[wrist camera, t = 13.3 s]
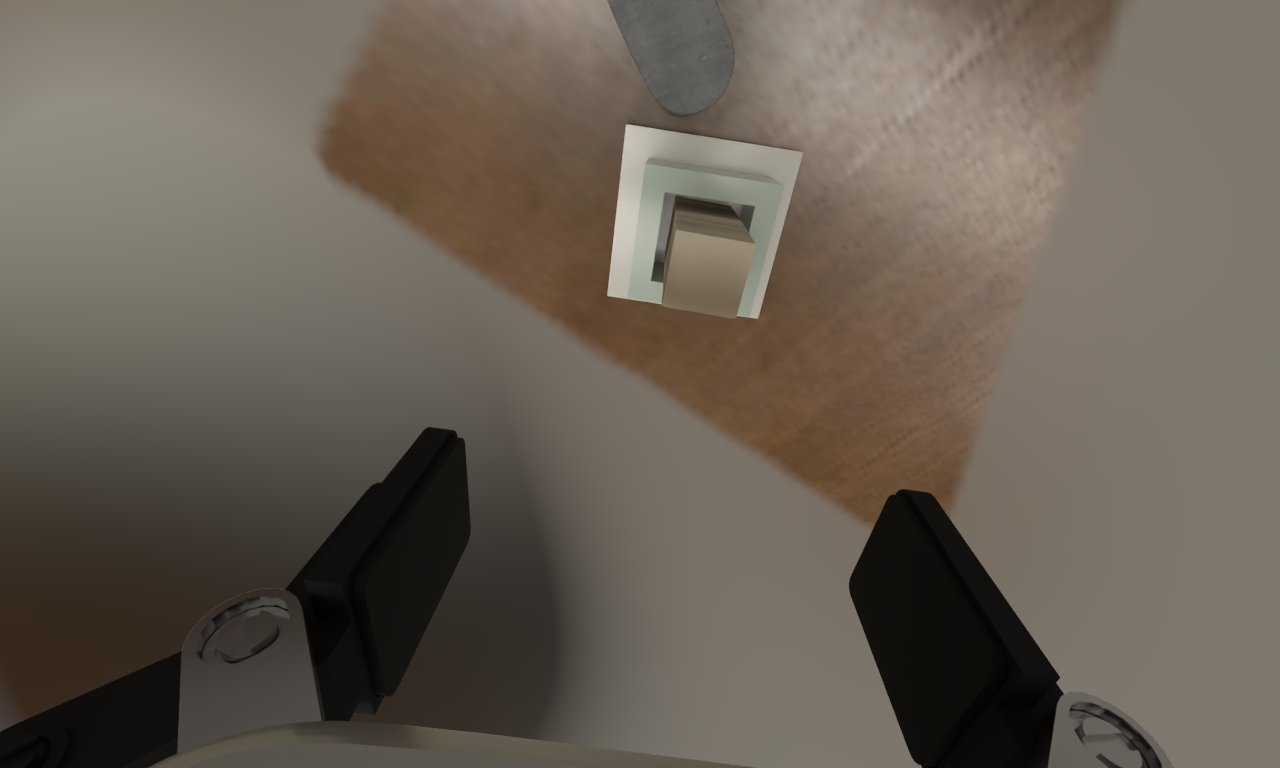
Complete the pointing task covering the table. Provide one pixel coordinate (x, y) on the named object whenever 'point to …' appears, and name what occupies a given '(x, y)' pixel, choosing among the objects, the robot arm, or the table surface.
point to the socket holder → (699, 172)
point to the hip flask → (678, 50)
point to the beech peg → (706, 258)
